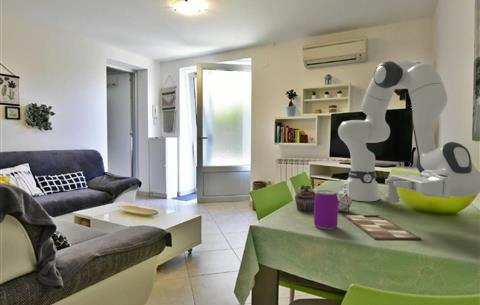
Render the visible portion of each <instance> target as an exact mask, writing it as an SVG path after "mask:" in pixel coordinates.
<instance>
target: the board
mask: <svg viewBox="0 0 480 305" xmlns="http://www.w3.org/2000/svg"><path fill="white" fill-rule="evenodd" d="M342 216H343V218H345V219H346V220H348V222H349V221H350V223H352V224H353V225H355V226H356V227H358V228H359V229H360V230H361V231H363V232H364V233H365V234H367V235H368V236H370V237H371V238H372V239H374V240H376V241H381V240H382V241H383V240H385V241H387V240H388V241H422V237H420V236H418V235H416V234H414V233H412V231H409V230H407V229H405V228H403V227H402V226H400V225H398V224H396V223H395V222H392V221H391V220H389V219H387V218H385V217H383V216H381V215H380V214H343V215H342ZM368 218H378V219H368Z"/></svg>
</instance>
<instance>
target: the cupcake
mask: <svg viewBox="0 0 480 305" xmlns="http://www.w3.org/2000/svg"><path fill="white" fill-rule="evenodd" d="M316 193H317V192H315V191H314V189H313V188H312V187H311V185H300V186H299V188H298V190H297V191H296V194H295V196H294V200H295V205H296V209H297V210H298V211H300V212H307V213H312V212H313V213H314V205H315V196H316Z"/></svg>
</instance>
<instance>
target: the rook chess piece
mask: <svg viewBox="0 0 480 305" xmlns="http://www.w3.org/2000/svg"><path fill="white" fill-rule="evenodd" d="M387 179H388V182H389V184H387V186H388V189H387V192H386V194H385V195H384V201H385V202H387V203H394V204H395V203H399V202H400V196H399V194H398V190H397V188H398V187H394V186H393V181H398V180H397V178H396V177H395V178H394V177H392V178H391V177H389V176H388V178H387Z"/></svg>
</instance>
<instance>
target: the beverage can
mask: <svg viewBox="0 0 480 305" xmlns="http://www.w3.org/2000/svg"><path fill="white" fill-rule="evenodd" d="M315 193H316V196H315V205H314V211H313V214H314V215H313V224H314V226H316V227H317V229H321V230H327V231H329V230H335V229H336V227H338V220H339V219H338V217H339V216H338V214H339V210H338V197H337V194H338V193H337V192H336V191H334V190H329V189H328V190H327V189H324V190H323V189H321V190H320V189H319V190H317V191H316V192H315Z"/></svg>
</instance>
